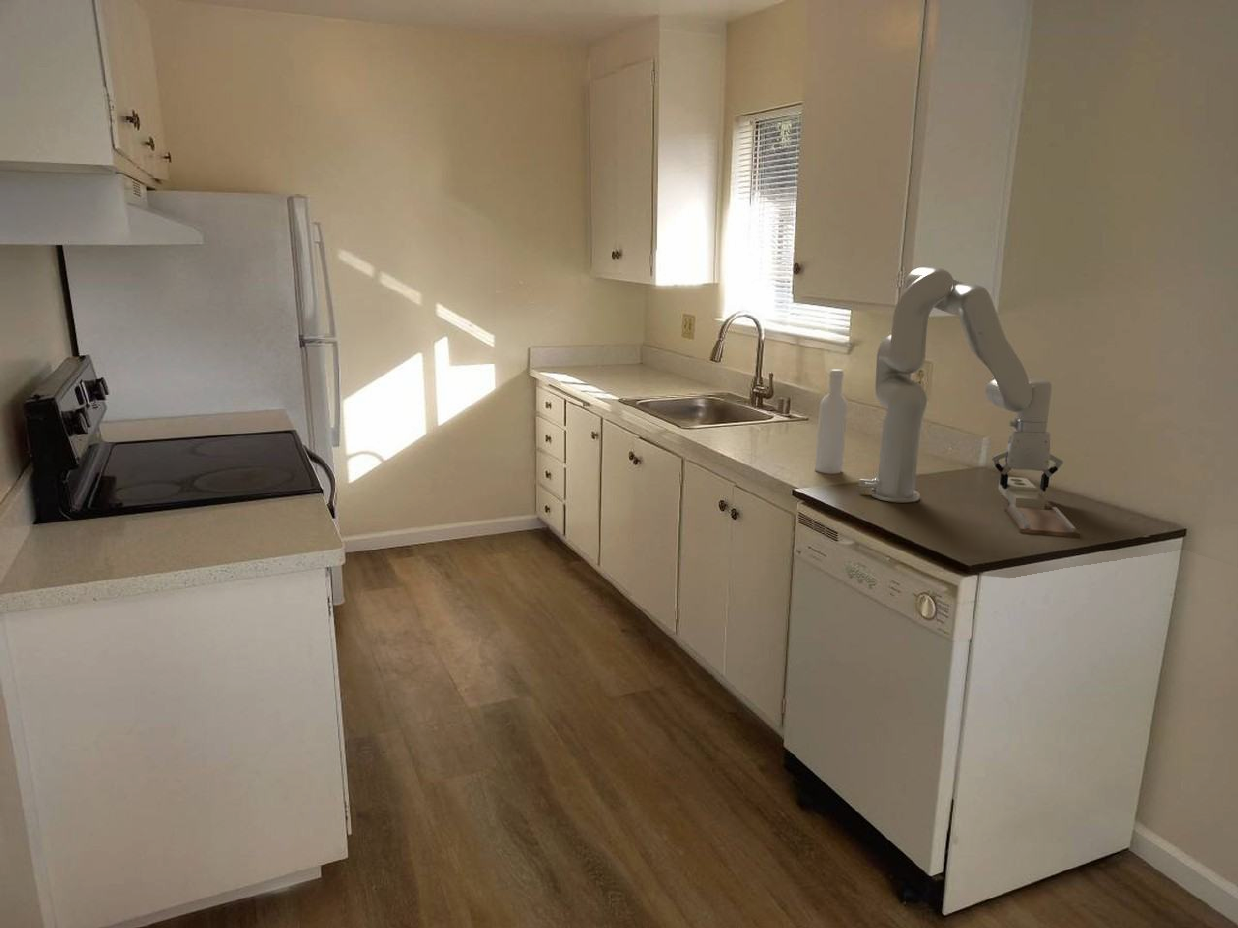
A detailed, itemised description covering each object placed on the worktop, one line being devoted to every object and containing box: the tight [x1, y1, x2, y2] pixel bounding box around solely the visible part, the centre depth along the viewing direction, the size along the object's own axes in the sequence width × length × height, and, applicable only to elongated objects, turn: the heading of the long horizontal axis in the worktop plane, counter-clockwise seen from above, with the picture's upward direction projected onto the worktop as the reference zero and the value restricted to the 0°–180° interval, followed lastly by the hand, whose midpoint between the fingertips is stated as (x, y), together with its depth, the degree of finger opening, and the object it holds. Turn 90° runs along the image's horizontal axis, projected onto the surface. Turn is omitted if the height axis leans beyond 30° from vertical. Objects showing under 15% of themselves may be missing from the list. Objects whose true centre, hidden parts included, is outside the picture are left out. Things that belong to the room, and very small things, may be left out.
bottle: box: [814, 368, 849, 475], centre depth 252 cm, size 8×8×30 cm
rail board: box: [1003, 503, 1081, 538], centre depth 210 cm, size 13×18×2 cm
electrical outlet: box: [998, 476, 1047, 510], centre depth 230 cm, size 7×4×18 cm
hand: (1023, 488), depth 230 cm, fingers open, 9 cm apart
